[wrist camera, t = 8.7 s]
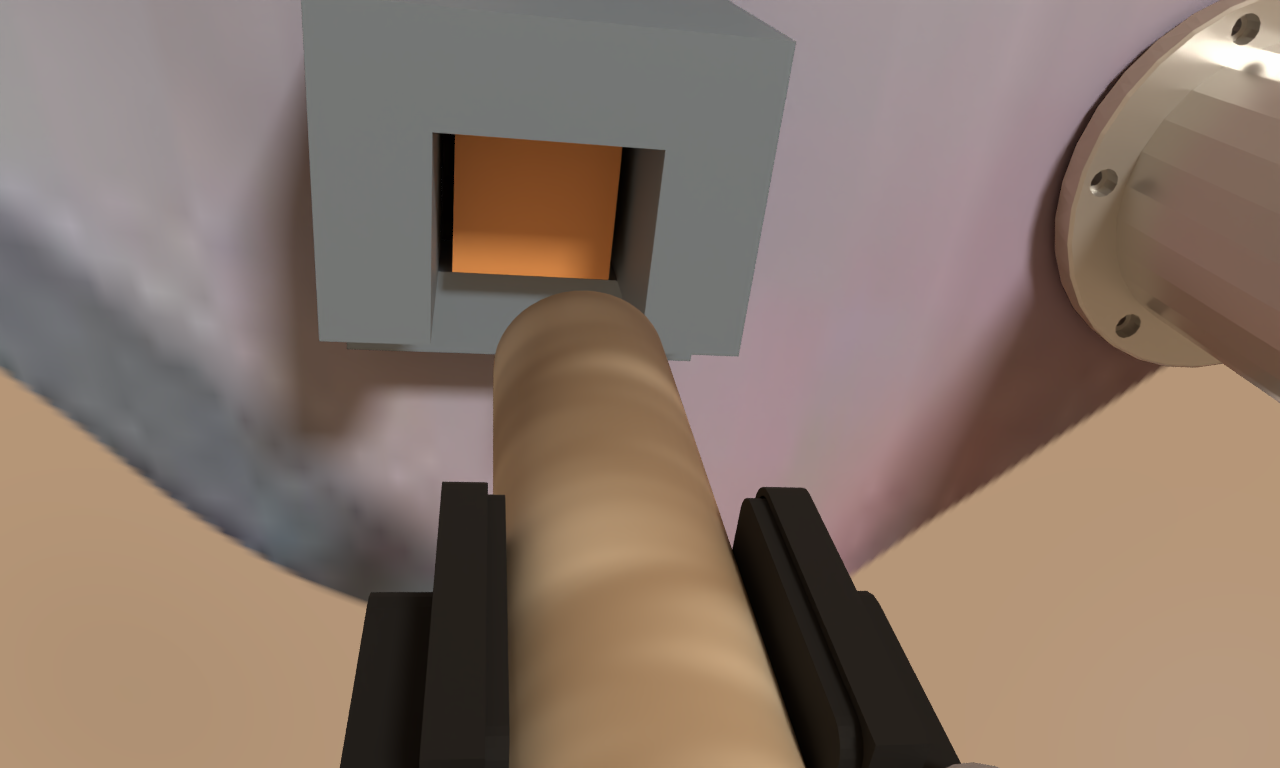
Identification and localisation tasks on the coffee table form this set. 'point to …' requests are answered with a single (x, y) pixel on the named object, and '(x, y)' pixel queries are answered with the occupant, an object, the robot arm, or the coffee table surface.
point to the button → (534, 207)
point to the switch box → (547, 111)
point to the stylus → (619, 559)
